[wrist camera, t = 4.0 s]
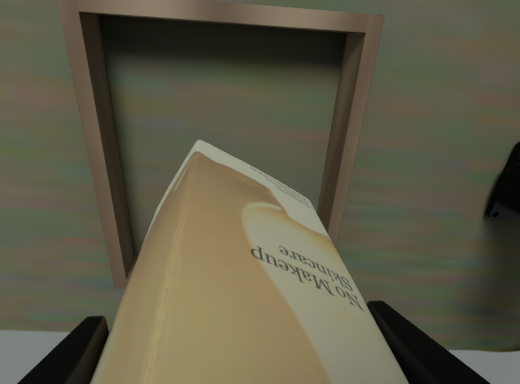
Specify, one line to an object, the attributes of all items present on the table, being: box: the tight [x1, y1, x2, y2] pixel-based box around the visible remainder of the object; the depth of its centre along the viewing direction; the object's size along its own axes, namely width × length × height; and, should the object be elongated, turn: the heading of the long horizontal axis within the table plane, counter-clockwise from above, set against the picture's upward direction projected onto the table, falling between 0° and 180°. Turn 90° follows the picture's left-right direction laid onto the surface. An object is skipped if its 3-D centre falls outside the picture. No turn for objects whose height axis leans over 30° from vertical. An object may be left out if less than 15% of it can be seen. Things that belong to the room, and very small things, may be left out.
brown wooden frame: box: [57, 0, 385, 289], centre depth 19 cm, size 15×17×2 cm
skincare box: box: [90, 140, 409, 384], centre depth 9 cm, size 6×4×12 cm
